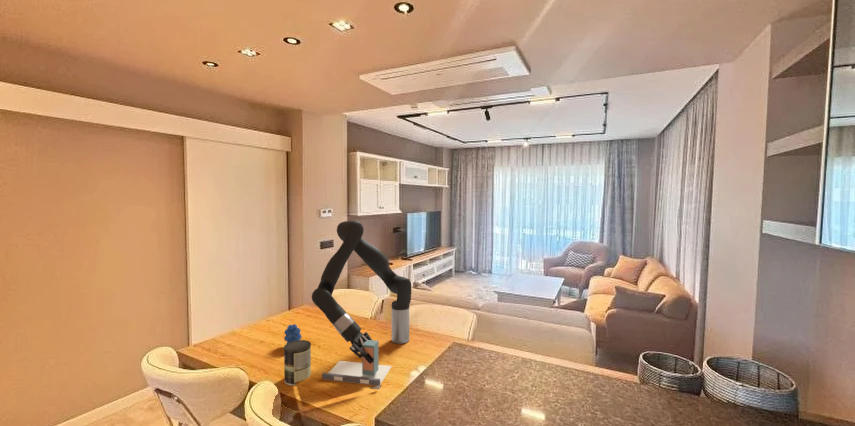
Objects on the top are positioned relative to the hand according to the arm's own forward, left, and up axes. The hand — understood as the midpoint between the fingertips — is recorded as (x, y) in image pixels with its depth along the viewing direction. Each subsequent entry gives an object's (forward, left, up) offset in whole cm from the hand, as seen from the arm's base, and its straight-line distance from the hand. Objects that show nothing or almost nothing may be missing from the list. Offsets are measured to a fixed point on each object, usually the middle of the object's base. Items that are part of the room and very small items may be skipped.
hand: (374, 358), depth 138 cm
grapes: (-21, -50, -9) cm, 55 cm away
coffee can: (+6, -31, -9) cm, 33 cm away
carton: (0, -2, -6) cm, 6 cm away
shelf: (-2, -8, -9) cm, 12 cm away
